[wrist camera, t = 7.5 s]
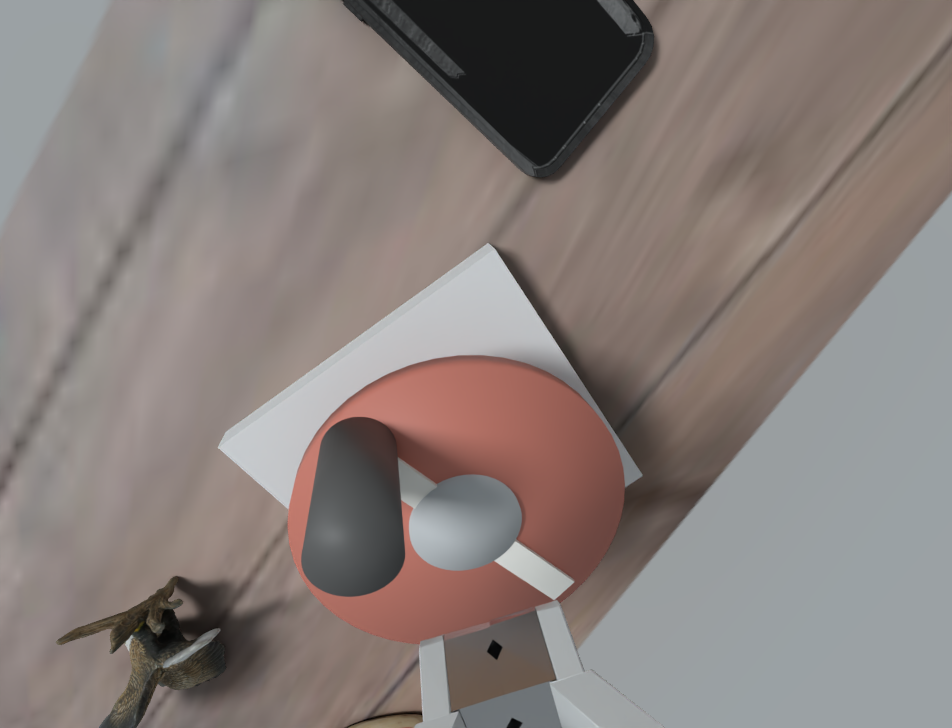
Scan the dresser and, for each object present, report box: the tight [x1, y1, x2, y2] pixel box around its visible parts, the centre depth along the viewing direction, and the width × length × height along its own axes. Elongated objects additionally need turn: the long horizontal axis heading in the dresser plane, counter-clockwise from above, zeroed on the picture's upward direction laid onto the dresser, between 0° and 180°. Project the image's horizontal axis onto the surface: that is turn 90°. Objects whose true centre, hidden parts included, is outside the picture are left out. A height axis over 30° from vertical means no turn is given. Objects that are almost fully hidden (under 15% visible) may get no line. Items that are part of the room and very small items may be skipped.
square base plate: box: [218, 243, 643, 509], centre depth 27 cm, size 16×16×4 cm
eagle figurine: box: [56, 576, 226, 728], centre depth 28 cm, size 8×7×9 cm
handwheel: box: [288, 355, 625, 644], centre depth 21 cm, size 15×15×7 cm
